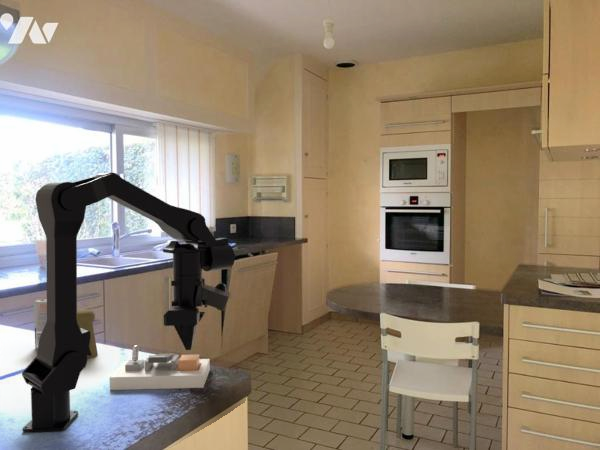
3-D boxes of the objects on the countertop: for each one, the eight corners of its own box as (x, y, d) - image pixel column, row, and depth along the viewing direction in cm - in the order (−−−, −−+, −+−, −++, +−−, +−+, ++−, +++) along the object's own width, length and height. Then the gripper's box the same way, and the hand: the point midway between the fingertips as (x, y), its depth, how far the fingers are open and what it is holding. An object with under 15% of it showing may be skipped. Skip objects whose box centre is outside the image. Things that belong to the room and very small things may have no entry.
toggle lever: (137, 361, 101) (138, 345, 102) (131, 361, 101) (132, 345, 102) (138, 361, 102) (139, 345, 103) (132, 361, 102) (133, 345, 103)
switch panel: (203, 387, 97) (203, 365, 97) (109, 390, 96) (109, 367, 96) (209, 370, 107) (209, 349, 107) (125, 372, 106) (124, 351, 106)
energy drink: (50, 342, 128) (49, 296, 128) (63, 345, 126) (62, 299, 125) (30, 348, 124) (29, 300, 123) (43, 351, 121) (41, 302, 120)
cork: (102, 352, 120) (101, 307, 120) (89, 360, 114) (88, 313, 114) (78, 351, 121) (77, 307, 120) (64, 359, 115) (63, 312, 114)
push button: (196, 374, 100) (196, 360, 100) (178, 375, 100) (178, 360, 100) (199, 368, 104) (199, 354, 104) (182, 369, 104) (181, 354, 103)
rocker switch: (166, 362, 98) (166, 356, 98) (148, 363, 97) (148, 356, 98) (174, 358, 105) (174, 352, 106) (157, 358, 105) (157, 353, 105)
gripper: (223, 280, 92) (223, 363, 93) (231, 267, 111) (231, 336, 111) (162, 281, 91) (163, 364, 92) (180, 267, 110) (181, 337, 111)
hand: (188, 349), depth 102 cm, fingers closed
